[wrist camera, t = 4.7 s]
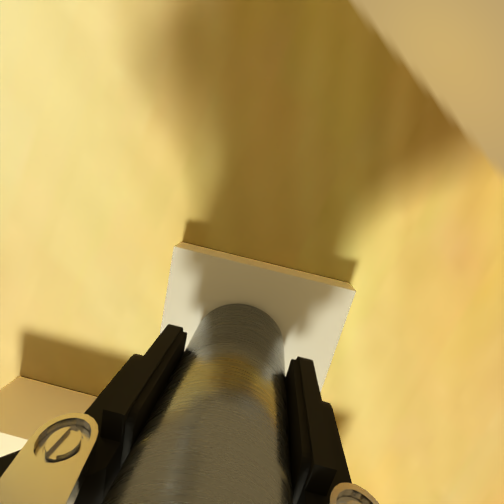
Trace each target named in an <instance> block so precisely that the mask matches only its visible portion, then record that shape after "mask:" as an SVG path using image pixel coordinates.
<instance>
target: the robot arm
mask: <svg viewBox="0 0 504 504" xmlns="http://www.w3.org/2000/svg"><path fill="white" fill-rule="evenodd" d="M186 339H187V332H183V327H179V326H175V325H171V324H168V325H167V326H166V328H165V329H164V330H163V331H162V333H161V334H160V335H159V337H158V338H157V339H156V341H155V342H154V343H153V345H152V346H151V347H150V348H149V350H148V351H147V352H146V354H145V355H144V356H142V355H138V354H134V355H133V356H132V357H131V358H130V359H129V360H128V361H127V363H126V364H125V365H124V366H123V367H122V369H121V370H120V371H119V372H118V373H117V374H116V376H115V377H114V378H113V379H112V380H111V382H110V383H109V384H108V385H107V386H106V388H105V389H104V390H103V391H102V392H101V394H100V395H99V396H98V397H97V398H96V400H95V401H94V402H93V403H92V404H91V406H90V407H89V408H88V409H87V410H86V412H85V413H84V414H83V413H68V414H64V415H60V416H58V417H56V418H54V419H51V420H49V421H48V422H46V423H45V424H43V425H42V426H41V427H39V428H38V429H37V430H36V431H35V432H34V434H33V435H32V436H31V437H30V438H29V440H28V441H27V442H26V444H25V445H24V446H23V448H22V449H21V450H18V451H16V452H13V453H10V454H8V455H5V456H2V457H0V504H102V502H103V500H104V498H105V496H106V494H107V493H108V491H109V489H110V487H111V485H112V483H113V482H114V480H115V478H116V476H117V474H118V472H119V471H120V469H121V467H122V465H123V463H124V461H125V460H126V458H127V456H128V454H129V452H130V450H131V448H132V447H133V445H134V443H135V441H136V439H137V437H138V436H139V434H140V432H141V430H142V428H143V426H144V425H145V423H146V421H147V419H148V417H149V415H150V414H151V412H152V410H153V408H154V406H155V404H156V403H157V401H158V399H159V397H160V395H161V393H162V392H163V390H164V388H165V386H166V384H167V382H168V380H169V379H170V377H171V375H172V373H173V371H174V369H175V368H176V366H177V364H178V362H179V360H180V358H181V357H182V355H183V353H184V350H185V344H186ZM286 394H287V411H288V428H289V445H290V462H291V479H292V496H293V504H379V503H378V502H377V501H376V499H375V498H374V497H373V496H372V495H370V494H369V493H368V492H367V491H366V490H364V489H363V488H361V487H359V486H358V485H355V484H352V482H351V479H350V475H349V471H348V467H347V463H346V459H345V455H344V452H343V448H342V444H341V440H340V436H339V432H338V428H337V425H336V421H335V417H334V413H333V409H332V406H331V405H330V403H327V402H323V401H322V399H321V394H320V390H319V385H318V380H317V376H316V371H315V367H314V362H313V360H311V359H307V358H303V357H299V356H298V357H297V358H296V360H295V359H291V361H290V364H289V368H288V371H287V374H286Z"/></svg>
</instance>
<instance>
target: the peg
mask: <svg viewBox="0 0 504 504" xmlns="http://www.w3.org/2000/svg"><path fill="white" fill-rule="evenodd" d="M102 504H293V496H292V479H291V462H290V445H289V428H288V411H287V394H286V377H285V360H284V343H283V337H282V334H281V331H280V329H279V327H278V325H277V324H276V322H275V321H274V320H273V319H272V318H271V317H270V316H269V315H268V314H267V313H265V312H264V311H262V310H260V309H258V308H256V307H254V306H250V305H246V304H237V303H236V304H227V305H223V306H220V307H218V308H215V309H214V310H212V311H210V312H209V313H208V314H207V315H206V316H205V317H204V318H203V319H202V320H201V322H200V324H199V325H198V327H197V329H196V331H195V333H194V335H193V336H192V338H191V340H190V342H189V344H188V346H187V347H186V349H185V351H184V353H183V355H182V357H181V358H180V360H179V362H178V364H177V366H176V368H175V369H174V371H173V373H172V375H171V377H170V379H169V380H168V382H167V384H166V386H165V388H164V390H163V392H162V393H161V395H160V397H159V399H158V401H157V403H156V404H155V406H154V408H153V410H152V412H151V414H150V415H149V417H148V419H147V421H146V423H145V425H144V426H143V428H142V430H141V432H140V434H139V436H138V437H137V439H136V441H135V443H134V445H133V447H132V448H131V450H130V452H129V454H128V456H127V458H126V460H125V461H124V463H123V465H122V467H121V469H120V471H119V472H118V474H117V476H116V478H115V480H114V482H113V483H112V485H111V487H110V489H109V491H108V493H107V494H106V496H105V498H104V500H103V502H102Z"/></svg>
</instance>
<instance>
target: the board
mask: <svg viewBox="0 0 504 504" xmlns="http://www.w3.org/2000/svg"><path fill="white" fill-rule="evenodd" d="M96 398H97V397H96V396H92V395H88V394H85V393H81V392H77V391H73V390H70V389H66V388H62V387H58V386H55V385H51V384H47V383H44V382H40V381H36V380H32V379H29V378H25V377H21V376H18V377H17V378H16V379H14V380H13V381H12V382H10V383H9V384H7V385H6V386H5V387H3V388H2V389H1V390H0V457H2V456H5V455H8V454H10V453H13V452H16V451H18V450H21V449H22V448H23V446H24V445H25V444H26V442H27V441H28V440H29V438H30V437H31V436H32V435H33V434H34V432H35V431H36V430H37V429H38V428H39V427H41V426H42V425H43V424H45V423H46V422H48V421H49V420H51V419H54V418H56V417H58V416H60V415H64V414H68V413H83V414H84V413H85V412H86V410H87V409H88V408H89V407H90V406H91V404H92V403H93V402H94V401H95V400H96Z"/></svg>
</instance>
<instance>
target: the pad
mask: <svg viewBox="0 0 504 504" xmlns="http://www.w3.org/2000/svg"><path fill="white" fill-rule="evenodd" d="M355 292H356V291H355V289H354V288H353V287H352V285H351V284H350V283H348V282H343V281H339V280H335V279H331V278H327V277H323V276H319V275H315V274H311V273H307V272H303V271H299V270H295V269H290V268H286V267H282V266H278V265H274V264H270V263H266V262H262V261H258V260H254V259H250V258H246V257H241V256H237V255H233V254H229V253H225V252H221V251H217V250H213V249H209V248H205V247H201V246H197V245H193V244H188V243H184V242H181V243H179V244H177V245H175V246H174V249H173V255H172V262H171V268H170V274H169V280H168V287H167V293H166V299H165V306H164V312H163V318H162V324H161V331H160V334H161V333H162V331H163V330H164V329H165V328H166V326H167V325H168V324H171V325H175V326H179V327H183V332H187V339H186V344H185V349H186V347H187V346H188V344H189V342H190V340H191V338H192V336H193V335H194V333H195V331H196V329H197V327H198V325H199V324H200V322H201V320H202V319H203V318H204V317H205V316H206V315H207V314H208V313H209V312H210V311H212V310H214V309H215V308H218V307H220V306H223V305H227V304H236V303H237V304H246V305H250V306H254V307H256V308H258V309H260V310H262V311H264V312H265V313H267V314H268V315H269V316H270V317H271V318H272V319H273V320H274V321H275V322H276V324H277V325H278V327H279V329H280V331H281V334H282V337H283V343H284V360H285V377H286V374H287V371H288V368H289V364H290V361H291V359H295V360H296V358H297V357H298V356H299V357H303V358H307V359H311V360H313V362H314V367H315V371H316V376H317V380H318V385H319V390H320V392H321V389H322V387H323V384H324V381H325V378H326V375H327V372H328V369H329V367H330V364H331V361H332V358H333V355H334V352H335V349H336V347H337V344H338V341H339V338H340V335H341V332H342V329H343V327H344V324H345V321H346V318H347V315H348V312H349V309H350V307H351V304H352V301H353V298H354V295H355ZM184 351H185V350H184Z"/></svg>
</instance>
